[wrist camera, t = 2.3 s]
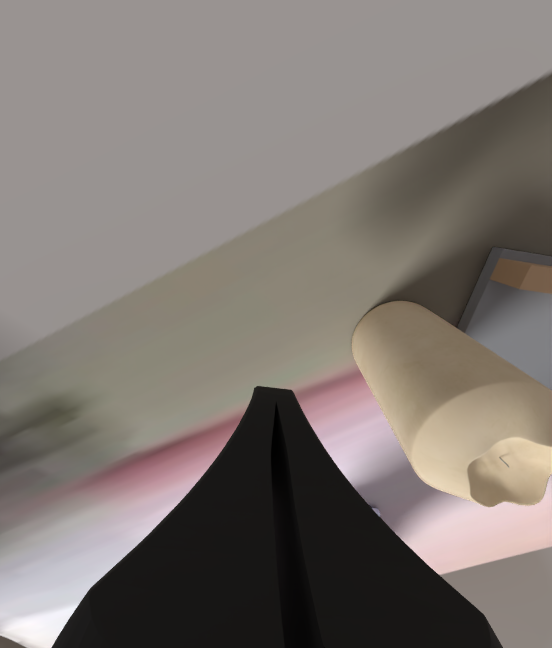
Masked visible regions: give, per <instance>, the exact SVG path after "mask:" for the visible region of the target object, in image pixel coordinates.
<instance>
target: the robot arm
mask: <svg viewBox="0 0 552 648" xmlns="http://www.w3.org/2000/svg"><path fill="white" fill-rule="evenodd" d="M52 648H503V647H502V645H501V644H500V642H499V640H498V638H497V636H496V635H495V633H494V631H493V629H492V628H491V626H490V624H489V623H488V621H487V619H486V617H485V616H484V614H483V613H481V612H480V611H479V610H478V609H477V608H476V607H475V606H474V605H472V604H471V603H470V602H469V601H468V600H467V599H466V598H464V597H463V596H462V595H461V594H460V593H459V592H458V591H456V590H455V589H454V588H453V587H452V586H451V585H450V584H448V583H447V582H446V581H445V580H444V579H443V578H442V577H440V576H439V575H438V574H437V573H436V572H435V571H434V570H433V569H431V568H430V567H429V566H428V565H427V564H426V563H425V562H424V561H423V560H422V559H421V558H420V557H419V556H418V555H417V554H416V553H415V552H414V551H413V550H412V549H410V548H409V547H408V546H407V545H406V544H405V543H404V542H403V541H402V540H401V539H400V538H399V537H398V536H397V535H396V534H395V533H394V532H393V531H392V530H391V529H390V528H389V526H388V525H387V524H386V523H385V522H384V521H383V520H382V519H381V518H380V512H379V510H378V509H377V508H371V507H370V506H369V505H368V504H367V503H366V502H365V500H364V499H363V498H362V497H361V496H360V495H359V493H358V492H357V491H356V490H355V489H354V487H353V486H352V485H351V484H350V482H349V481H348V480H347V479H346V477H345V476H344V475H343V473H342V472H341V471H340V469H339V468H338V467H337V465H336V464H335V463H334V461H333V460H332V458H331V457H330V455H329V454H328V452H327V451H326V449H325V448H324V447H323V445H322V443H321V442H320V440H319V439H318V437H317V435H316V434H315V432H314V430H313V429H312V427H311V425H310V424H309V422H308V420H307V418H306V417H305V415H304V413H303V411H302V409H301V407H300V405H299V403H298V401H297V399H296V397H295V395H294V393H293V391H292V390H287V389H279V388H270V387H261V386H257V387H256V388H254V392H253V396H252V399H251V401H250V404H249V406H248V408H247V410H246V412H245V414H244V416H243V418H242V419H241V421H240V423H239V425H238V427H237V428H236V430H235V432H234V433H233V435H232V436H231V438H230V439H229V441H228V442H227V444H226V445H225V447H224V448H223V450H222V451H221V453H220V454H219V455H218V457H217V458H216V460H215V461H214V462H213V463H212V465H211V466H210V467H209V469H208V470H207V471H206V472H205V474H204V475H203V476H202V477H201V478H200V480H199V481H198V482H197V483H196V484H195V486H194V487H193V488H192V489H191V490H190V492H189V493H188V494H187V495H186V496H185V497H184V498H183V499H182V500H181V502H180V503H179V504H178V505H177V506H176V507H175V508H174V509H173V510H172V511H171V512H170V513H169V514H168V515H167V516H166V517H165V518H164V519H163V520H162V521H161V522H160V523H159V524H158V525H157V526H156V527H155V528H154V529H153V530H152V532H151V533H150V534H149V535H148V536H147V537H145V538H144V539H143V540H142V541H141V542H140V543H139V544H138V545H137V546H136V547H135V548H134V549H133V550H132V551H131V552H129V553H128V554H127V555H126V556H125V557H124V558H123V559H122V560H121V561H120V562H119V563H117V564H116V565H115V566H114V567H113V568H112V569H111V570H110V571H109V572H108V573H107V574H105V575H104V576H103V577H102V578H101V579H100V580H99V581H98V582H97V583H96V584H94V585H93V586H92V587H91V588H90V590H89V591H88V592H87V594H86V595H85V597H84V598H83V599H82V601H81V602H80V604H79V605H78V607H77V608H76V610H75V611H74V613H73V614H72V616H71V617H70V619H69V620H68V622H67V623H66V625H65V627H64V628H63V630H62V631H61V633H60V634H59V636H58V638H57V639H56V641H55V643H54V645H53V646H52Z"/></svg>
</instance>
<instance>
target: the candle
mask: <svg viewBox="0 0 552 648" xmlns="http://www.w3.org/2000/svg"><path fill="white" fill-rule="evenodd" d="M352 352H353V356H354V358H355V361H356V363H357V365H358V367H359V369H360V371H361V373H362V374H363V376H364V378H365V380H366V382H367V384H368V386H369V387H370V389H371V391H372V393H373V395H374V397H375V399H376V400H377V402H378V404H379V406H380V408H381V410H382V412H383V413H384V415H385V417H386V419H387V421H388V423H389V425H390V426H391V428H392V430H393V432H394V434H395V436H396V438H397V439H398V441H399V443H400V445H401V447H402V449H403V451H404V452H405V454H406V456H407V458H408V460H409V462H410V464H411V465H412V467H413V469H414V471H415V472H416V474H417V475H418V477H419V478H420V479H421V480H422V481H424V482H425V483H426V484H428V485H429V486H431V487H433V488H435V489H438V490H441V491H443V492H446V493H449V494H452V495H454V496H457V497H460V498H464V499H467V500H470V501H473V502H476V503H478V504H480V505H483V506H486V507H494V506H495V505H497V504H499V503H502V502H510V503H514V504H518V505H524V506H530V505H535V504H537V503H539V502H540V501H541V500H542V498H543V497H544V494H545V491H546V486H547V482H548V479H549V477H550V475H551V474H552V390H550V389H549V388H547V387H546V386H544V385H543V384H541V383H540V382H538V381H537V380H535V379H534V378H532V377H531V376H529V375H528V374H526V373H525V372H523V371H521V370H520V369H518V368H517V367H515V366H514V365H512V364H511V363H509V362H508V361H506V360H505V359H503V358H502V357H500V356H499V355H497V354H496V353H494V352H492V351H491V350H489V349H488V348H486V347H485V346H483V345H482V344H480V343H479V342H477V341H476V340H474V339H473V338H471V337H470V336H468V335H467V334H465V333H463V332H462V331H460V330H459V329H457V328H456V327H454V326H453V325H451V324H450V323H448V322H447V321H445V320H444V319H442V318H441V317H439V316H438V315H436V314H434V313H433V312H431V311H430V310H428V309H426V308H425V307H423V306H421V305H419V304H416V303H413V302H409V301H392V302H388V303H385V304H382V305H380V306H377V307H376V308H374V309H372V310H371V311H370V312H368V313H367V314H366V315H365V316H364V317H363V318H362V319H361V320H360V322H359V323H358V325H357V326H356V328H355V331H354V333H353V337H352Z"/></svg>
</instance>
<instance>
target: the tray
mask: <svg viewBox="0 0 552 648" xmlns="http://www.w3.org/2000/svg"><path fill="white" fill-rule="evenodd" d="M457 329H459V330H460V331H462V332H463V333H465V334H467V335H468V336H470V337H471V338H473V339H474V340H476V341H477V342H479V343H480V344H482V345H483V346H485V347H486V348H488V349H489V350H491V351H492V352H494V353H496V354H497V355H499V356H500V357H502V358H503V359H505V360H506V361H508V362H509V363H511V364H512V365H514V366H515V367H517V368H518V369H520V370H521V371H523V372H525V373H526V374H528V375H529V376H531V377H532V378H534V379H535V380H537V381H538V382H540V383H541V384H543V385H544V386H546V387H547V388H549V389H550V390H552V256H547V255H541V254H534V253H528V252H522V251H516V250H510V249H503V248H497V247H492V250H491V252H490V254H489V256H488V259H487V261H486V263H485V265H484V268H483V270H482V272H481V274H480V277H479V279H478V281H477V283H476V286H475V288H474V290H473V292H472V295H471V297H470V299H469V301H468V304H467V306H466V308H465V310H464V313H463V315H462V317H461V319H460V322H459V324H458V326H457Z"/></svg>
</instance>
